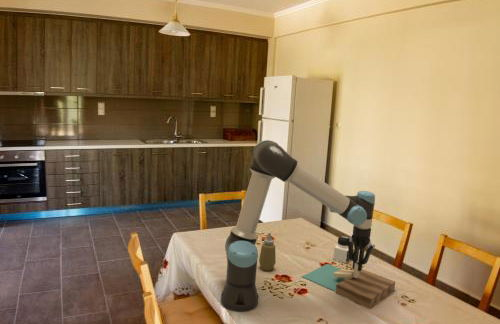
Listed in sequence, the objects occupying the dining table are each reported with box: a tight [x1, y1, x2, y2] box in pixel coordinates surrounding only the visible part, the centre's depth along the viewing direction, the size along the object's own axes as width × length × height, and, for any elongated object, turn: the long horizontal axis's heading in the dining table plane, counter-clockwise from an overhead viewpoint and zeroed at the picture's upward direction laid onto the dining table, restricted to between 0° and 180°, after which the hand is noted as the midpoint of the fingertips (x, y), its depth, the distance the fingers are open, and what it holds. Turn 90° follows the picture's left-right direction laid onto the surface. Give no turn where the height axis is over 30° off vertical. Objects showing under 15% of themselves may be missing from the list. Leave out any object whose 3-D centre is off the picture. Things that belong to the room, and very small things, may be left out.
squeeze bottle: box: [258, 232, 277, 272], centre depth 186 cm, size 8×8×18 cm
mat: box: [301, 263, 347, 293], centre depth 182 cm, size 22×18×1 cm
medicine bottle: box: [332, 236, 350, 264], centre depth 203 cm, size 7×7×12 cm
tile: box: [333, 269, 354, 279], centre depth 177 cm, size 6×9×2 cm, turn 47°
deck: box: [335, 268, 396, 309], centre depth 170 cm, size 24×16×4 cm, turn 137°
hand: (356, 276), depth 173 cm, fingers closed
